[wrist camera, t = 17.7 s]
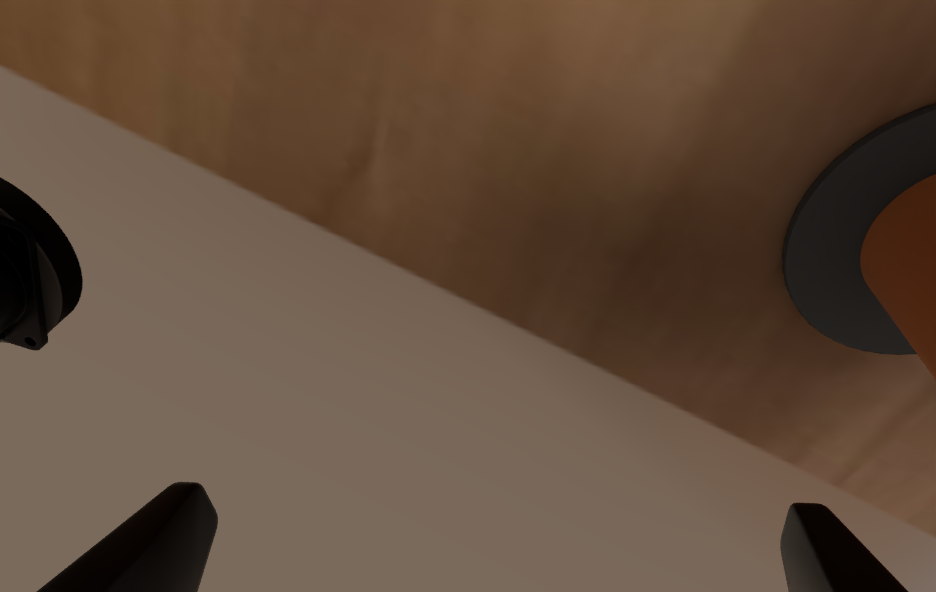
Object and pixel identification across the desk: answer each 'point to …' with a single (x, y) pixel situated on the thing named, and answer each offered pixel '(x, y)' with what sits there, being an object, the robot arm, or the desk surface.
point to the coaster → (854, 232)
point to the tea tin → (906, 265)
